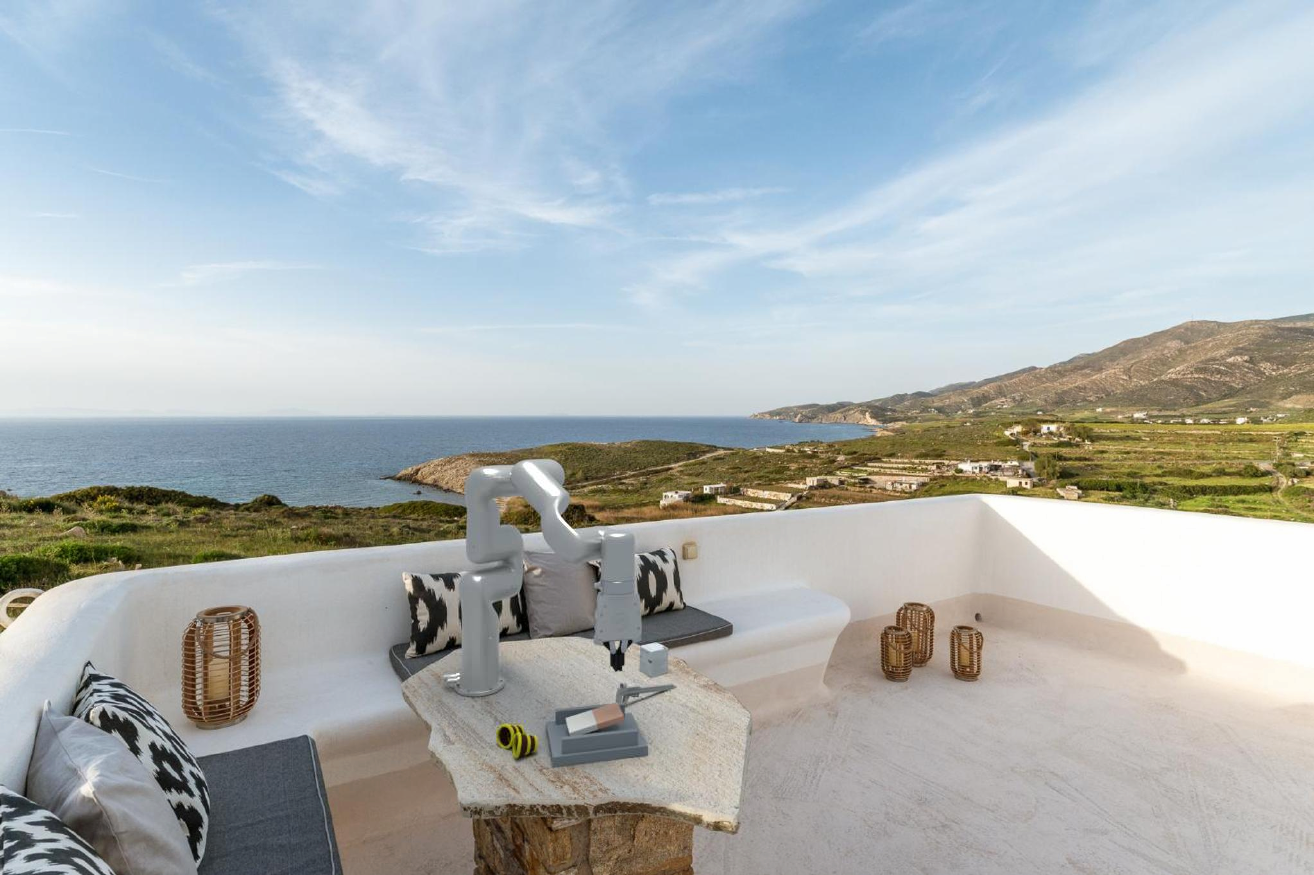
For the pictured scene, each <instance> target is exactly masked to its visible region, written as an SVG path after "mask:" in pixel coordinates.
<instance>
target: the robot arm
mask: <svg viewBox="0 0 1314 875" xmlns="http://www.w3.org/2000/svg"><path fill="white" fill-rule="evenodd" d="M565 475H566V474H565V471H564V468H563V467H562V465H561V463H559V462H558V461H556V460H554V459H550V458H540V459H539V458H537V459H535V458H534V459H523V460H520V461H519V462H517V463H515V464H505V465H504V464H499V465H498V464H497V465H496V464H495V465H485V466H481V467H478V468H475V469H473V470H472V471H471V472H470V473H469V474H468V476H467V477H466V479H465V482H464V489H463V490H464V498H465V499H464V500H465V504H466V535H465V536H466V537H465V552H466V557H467V559H468V561H469V562H470V563H471V564H474V565H485V564H489V563H496V565H491V566H484V567H481V568H476V569H475V568H474V569H472V570H470V571H467V572H466V573H465V574H463V575H462V576H461V578H460V580H459V582H458V588H457V589H458V595H459V601H460V606H461V667H460V669H459V671H456V672H455V673H454V672H453V673H450V672H448V673H444V674H443V682H447V684H448V685H449V684H454V690H455V692H456V693H457V694H459V695H461V696H464V697H482V696H489V695H492V694H495V693H498V692H499V691H501V690H502V689H503V688H504V686H505V679H504V678H503V677H502V676H500V675H499V666H500V665H499V663H500V662H499V661H500V660H499V659H500V658H499V656H500V653H499V652H500V618H499V615H498V613H497V612H496V610H495V608H494V606H493V603H496V602H499V601H502V600H507V599H510V598H513V597H515V596H516V595H517V594H518V593H519V592H520V591H521V588H522V586H523V578H524V577H523V575H524V552H525V550H524V549H525V546H524V539H523V536H522V533H521V532H520V530H519V528H517V527H516V526H514V525H511V524H501V512H500V508H499V506H498V504H497V502H496V499H501V498H511V497H514V498H515V497H523V499H525V501H526V502H527V503H528V504H529V505H530V506H531V507H532V509H534V510H535V511H536V513H538V514H539V516H540V517H541V518H540V529H541V532H542V536H543V538H544V541H545V543H546V544H547V545H548V546H549V547H550V549H552V551H553V552H554V553H555V554H556V555H557V556H558V557H559V558H560V559H561V560H563V561H564V562H566V563H568V564H570V565H580V564H583V563H587V562H592V561H597V560H600V579H599V581H597V582H594V589H595V590H599V591H598V593H597V595H596V602H595V611H594V621H593V629H594V630H593V632H594V636H593V641H592V643H593V644H594V645H595V646H601V647H604V648H605V649H607V650H608V651H609V665H610V667H611V668H612V669H613V671H614V673H615V672H623V667H624V666H625V660H626V659H625V658H626V657H625V656H626V655H625V654H626V653H627V651H628V649H629V647H630V646H631V645H632V644H635V643H638V642H639V643H640V642H641V641H642V631H643V629H642V628H643V626H642V625H643V624H642V623H643V622H642V609H641V601H640V595H639V592H638V591H637V590H635V580H636V579H635V576H636V575H635V574H636V573H635V572H636V570H635V569H636V568H635V566H636V565H635V564H636V562H635V561H636V560H635V559H636V552H635V550H636V546H635V545H636V539H635V534H634V533H633V532H631V531H629V530H625V529H624V530H623V529H613V528H610V527H608V526H604V525H603V526H602V525H595V526H591V527H583V528H582V527H581V528H578V529H577V528H576V529H573V528H572V527H571V526H570V525H569V524H568V523H567V522H566V521H565V519H564V518H563V517H562V514H564V513H565V512H566V510H567V508H568V507H569V505H570V501H571V496H570V493H569V492H568V491H567V490H566V489H565V488H564V487H563V485H564V483H565V479H566V476H565ZM616 642H618V643H619V644H618V647H617V648H616Z"/></svg>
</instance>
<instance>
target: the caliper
mask: <svg viewBox="0 0 1314 875" xmlns="http://www.w3.org/2000/svg"><path fill="white" fill-rule="evenodd" d="M674 688H677V686H676V685H674V683H671V682H670V683H661V684H660V683H659V684H653V685H643V686H640V685H638V684H636V685H628V684H627V683H626V682H623V683H622V682H620V684H619V686H618V687H617V691H616V695H615V702H618V703H622V702H624V704H625V708H626V706H627V704H628V701H629V699H630V697H631V698H639V697H640V694H648V693H649V694H650V693H657V692H666V691H670V690H673V689H674Z"/></svg>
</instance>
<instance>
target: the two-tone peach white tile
mask: <svg viewBox="0 0 1314 875" xmlns="http://www.w3.org/2000/svg"><path fill="white" fill-rule="evenodd" d="M608 704H609V705H606V706H603V707H599V708H596V709H593V710H590V711H587V712H584V713H580V714H577V715H574V716H571V717H568V718H566V723H567V727H568V731H569V734H570V736H575V735H583V734H586V733H589V732H592V731H595V730H598V729H601V728H604V727H607V726H610V725H613V724H616V723H619V722H623V721H625V720H624V715H623V713H622V711H621V709H620V707H619V705H618V702H616V701H615V702H612V703H608Z"/></svg>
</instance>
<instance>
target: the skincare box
mask: <svg viewBox="0 0 1314 875" xmlns="http://www.w3.org/2000/svg"><path fill="white" fill-rule="evenodd" d="M668 666H669V647H666V646H665V645H663V644H661V643H658V642H652V643H646V644H643V645H640V647H639V670H638V671H640V672H641V673H643V674H644V675H646V676H648V677H650V678H654V677H658V676H661V675H662V676H663V675H665V674H668V672H669V670H668V669H669V667H668Z"/></svg>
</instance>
